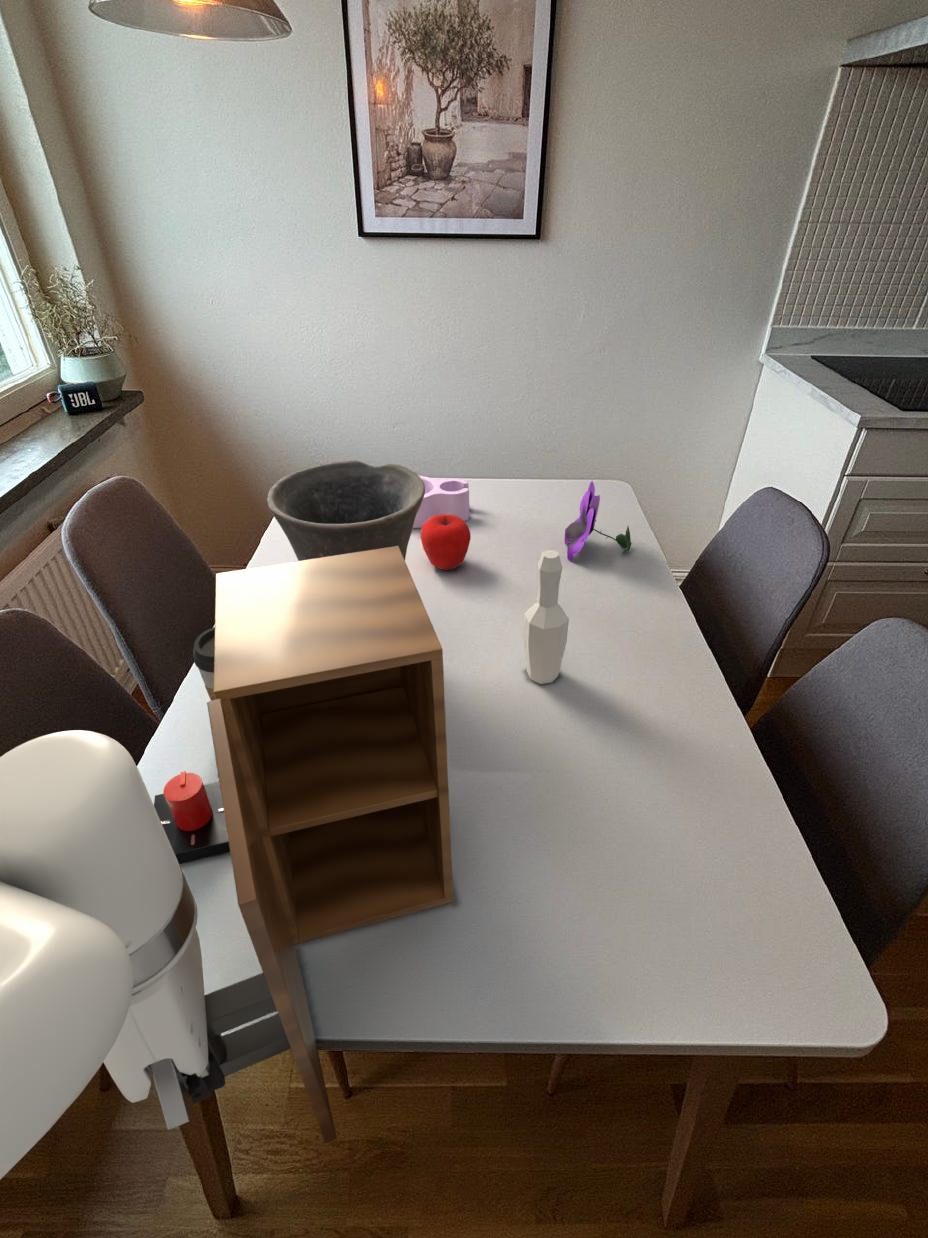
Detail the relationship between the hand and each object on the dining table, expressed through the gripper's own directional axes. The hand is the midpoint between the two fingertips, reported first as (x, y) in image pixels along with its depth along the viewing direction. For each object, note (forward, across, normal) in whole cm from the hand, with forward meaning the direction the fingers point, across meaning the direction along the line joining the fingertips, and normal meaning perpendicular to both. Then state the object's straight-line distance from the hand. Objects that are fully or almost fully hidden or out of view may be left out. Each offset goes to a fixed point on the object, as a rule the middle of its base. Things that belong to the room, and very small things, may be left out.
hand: (200, 1059), depth 49 cm
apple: (+16, -84, +48) cm, 98 cm away
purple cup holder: (+16, -106, +52) cm, 119 cm away
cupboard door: (+16, -6, +3) cm, 17 cm away
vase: (+16, -61, +26) cm, 69 cm away
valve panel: (+16, -36, -2) cm, 39 cm away
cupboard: (+16, -24, +16) cm, 33 cm away
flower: (+16, -77, +79) cm, 111 cm away
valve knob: (+14, -36, -2) cm, 38 cm away
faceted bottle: (+16, -46, +51) cm, 71 cm away
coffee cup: (+16, -53, +6) cm, 56 cm away
